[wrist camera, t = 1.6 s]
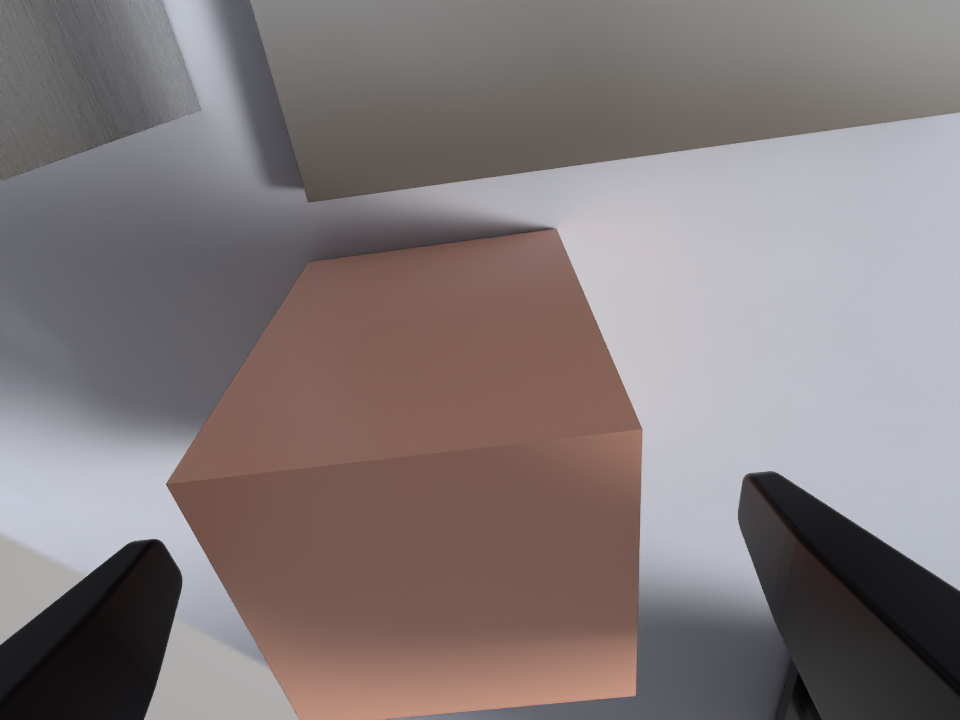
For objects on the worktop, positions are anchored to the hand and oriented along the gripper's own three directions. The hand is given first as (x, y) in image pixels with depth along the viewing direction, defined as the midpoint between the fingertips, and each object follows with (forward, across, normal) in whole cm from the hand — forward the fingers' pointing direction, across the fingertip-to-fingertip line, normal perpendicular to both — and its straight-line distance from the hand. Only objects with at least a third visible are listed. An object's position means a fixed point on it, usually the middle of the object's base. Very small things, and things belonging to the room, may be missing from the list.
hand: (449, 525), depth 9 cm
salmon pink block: (+5, 0, 0) cm, 5 cm away
